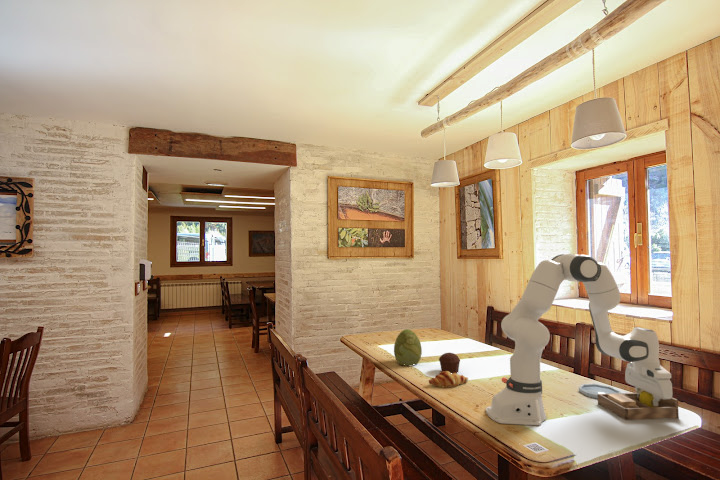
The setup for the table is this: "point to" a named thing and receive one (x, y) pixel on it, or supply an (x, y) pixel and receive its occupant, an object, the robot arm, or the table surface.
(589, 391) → the plate
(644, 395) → the lemon
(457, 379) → the croissant
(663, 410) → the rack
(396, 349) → the decorative sculpture
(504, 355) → the table surface
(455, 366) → the muffin
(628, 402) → the block
